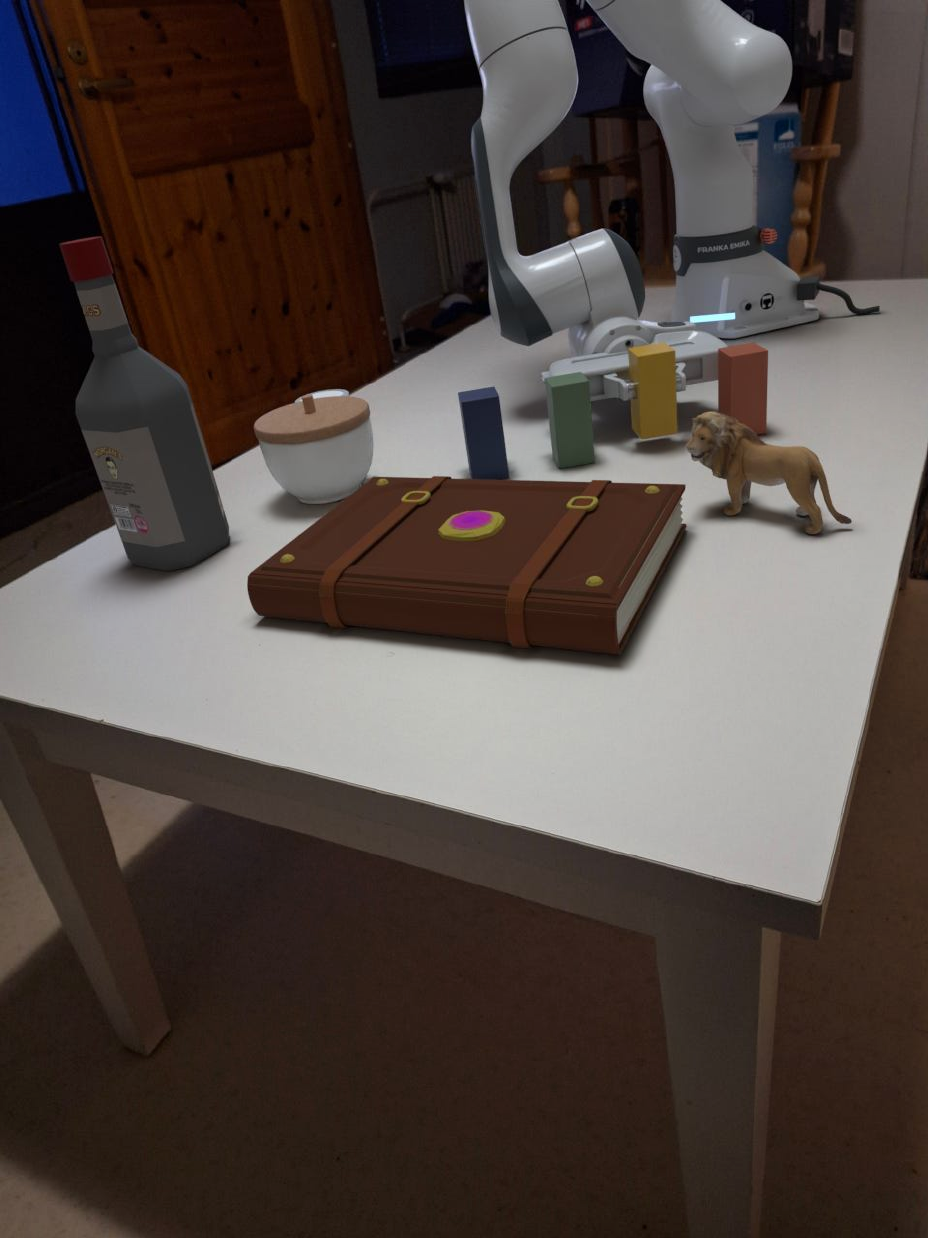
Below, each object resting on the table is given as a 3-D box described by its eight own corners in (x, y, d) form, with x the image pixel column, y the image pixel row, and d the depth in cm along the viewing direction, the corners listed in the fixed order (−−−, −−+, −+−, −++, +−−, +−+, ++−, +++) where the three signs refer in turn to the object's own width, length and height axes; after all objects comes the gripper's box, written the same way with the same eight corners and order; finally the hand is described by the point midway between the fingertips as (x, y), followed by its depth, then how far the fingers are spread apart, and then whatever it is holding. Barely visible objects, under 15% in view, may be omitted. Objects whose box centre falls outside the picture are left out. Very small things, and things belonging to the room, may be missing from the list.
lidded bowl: (401, 470, 104) (383, 375, 99) (355, 514, 94) (333, 412, 89) (306, 471, 109) (284, 381, 103) (253, 514, 99) (225, 417, 93)
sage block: (587, 450, 101) (581, 371, 97) (595, 462, 98) (589, 380, 93) (552, 456, 101) (544, 377, 97) (559, 468, 97) (551, 386, 93)
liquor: (179, 576, 87) (68, 247, 72) (118, 564, 92) (4, 253, 77) (244, 536, 93) (155, 227, 79) (185, 527, 98) (90, 234, 84)
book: (382, 514, 93) (373, 468, 91) (687, 527, 80) (686, 475, 78) (254, 623, 76) (239, 571, 74) (616, 665, 63) (612, 602, 60)
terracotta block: (752, 422, 101) (754, 341, 97) (766, 433, 98) (768, 350, 93) (718, 428, 101) (717, 348, 97) (730, 439, 98) (730, 356, 93)
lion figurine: (678, 514, 83) (676, 419, 79) (705, 492, 86) (704, 401, 82) (839, 540, 74) (846, 435, 70) (863, 516, 77) (871, 414, 73)
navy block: (504, 465, 101) (494, 386, 96) (509, 477, 97) (499, 395, 93) (469, 471, 101) (457, 392, 96) (473, 483, 97) (461, 402, 93)
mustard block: (666, 423, 101) (664, 341, 96) (677, 433, 97) (675, 350, 93) (631, 428, 101) (627, 348, 96) (641, 439, 97) (637, 356, 93)
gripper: (535, 346, 106) (556, 374, 94) (705, 318, 106) (748, 343, 94) (540, 399, 109) (562, 432, 97) (705, 371, 110) (747, 401, 97)
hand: (655, 388), depth 96 cm, fingers closed on mustard block, 4 cm apart
